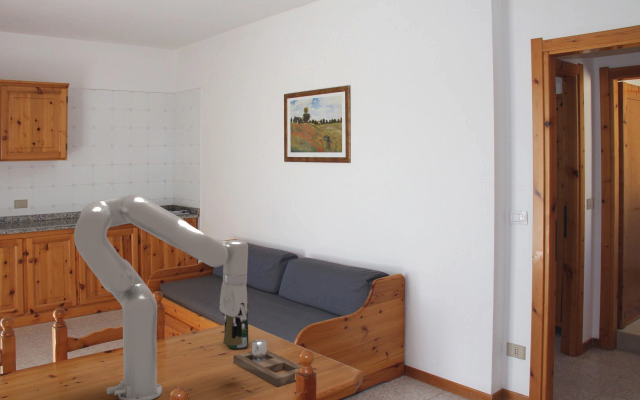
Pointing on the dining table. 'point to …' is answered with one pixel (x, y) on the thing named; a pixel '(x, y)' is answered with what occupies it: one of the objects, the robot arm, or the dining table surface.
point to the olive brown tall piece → (228, 333)
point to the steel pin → (259, 350)
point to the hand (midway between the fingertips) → (232, 335)
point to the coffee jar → (243, 335)
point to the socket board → (269, 367)
